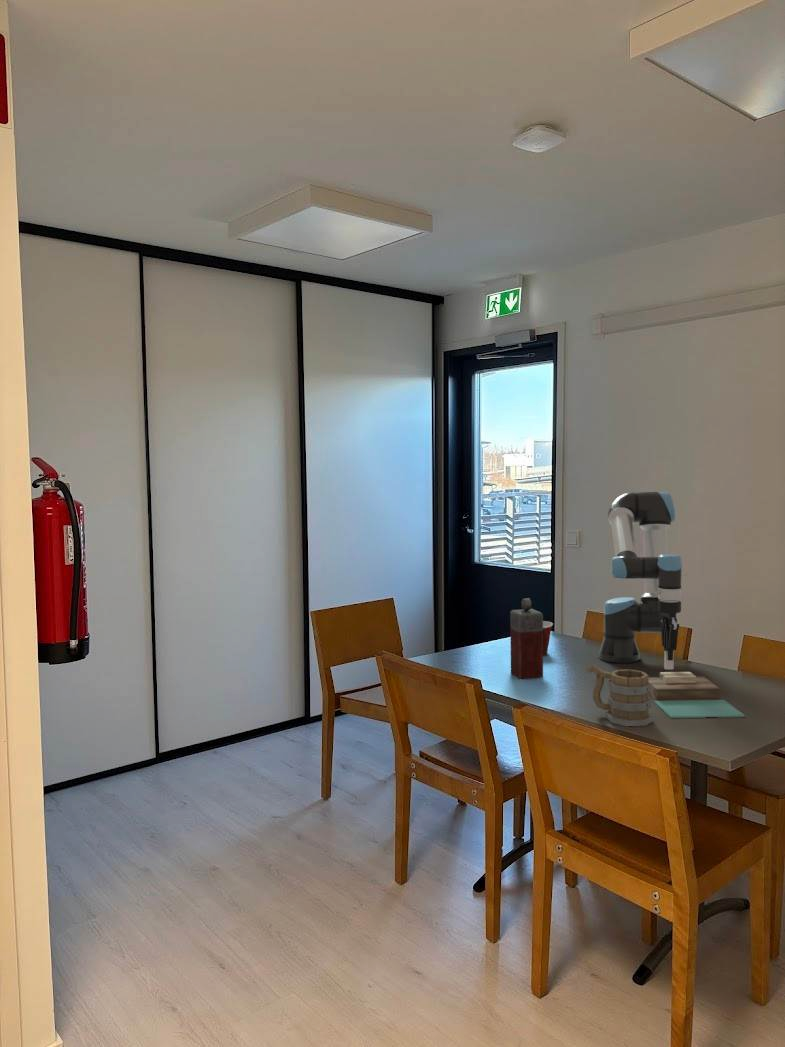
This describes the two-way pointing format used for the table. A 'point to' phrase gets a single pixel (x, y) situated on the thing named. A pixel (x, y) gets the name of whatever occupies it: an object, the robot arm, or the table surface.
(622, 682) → the tankard
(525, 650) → the toy vending machine
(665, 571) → the robot arm
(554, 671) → the table surface
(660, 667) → the table surface
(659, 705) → the mat
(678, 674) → the tile
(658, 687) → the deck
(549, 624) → the plastic cup
